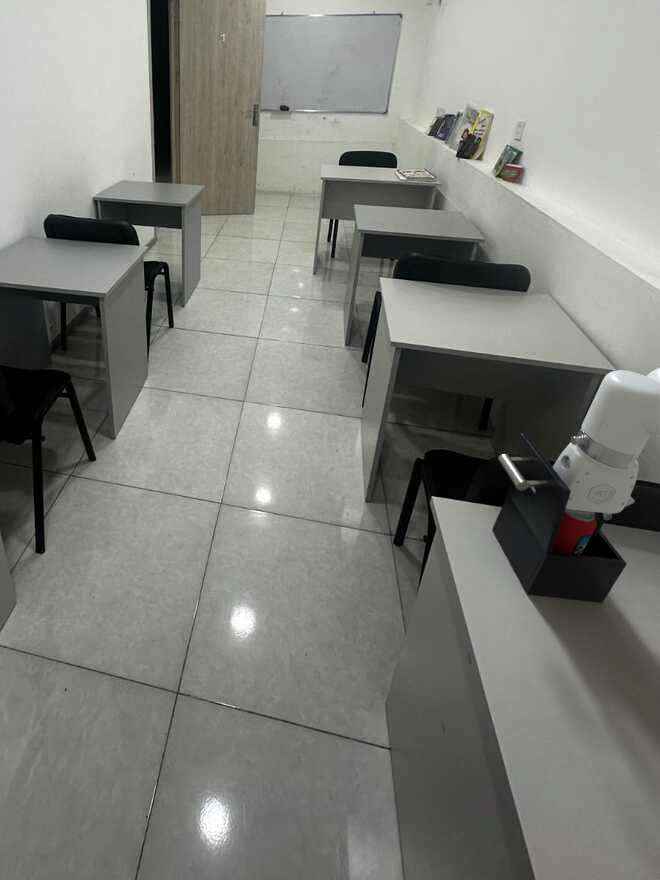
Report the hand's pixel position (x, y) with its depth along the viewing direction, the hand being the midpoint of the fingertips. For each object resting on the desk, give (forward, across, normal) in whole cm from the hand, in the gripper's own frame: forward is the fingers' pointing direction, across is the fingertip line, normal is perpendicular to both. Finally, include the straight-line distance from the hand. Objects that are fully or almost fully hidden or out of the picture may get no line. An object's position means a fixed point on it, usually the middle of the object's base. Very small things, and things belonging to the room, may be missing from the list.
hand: (565, 526), depth 81 cm
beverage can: (+7, 0, 0) cm, 7 cm away
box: (+10, 0, 0) cm, 10 cm away
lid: (-7, -7, 0) cm, 10 cm away
